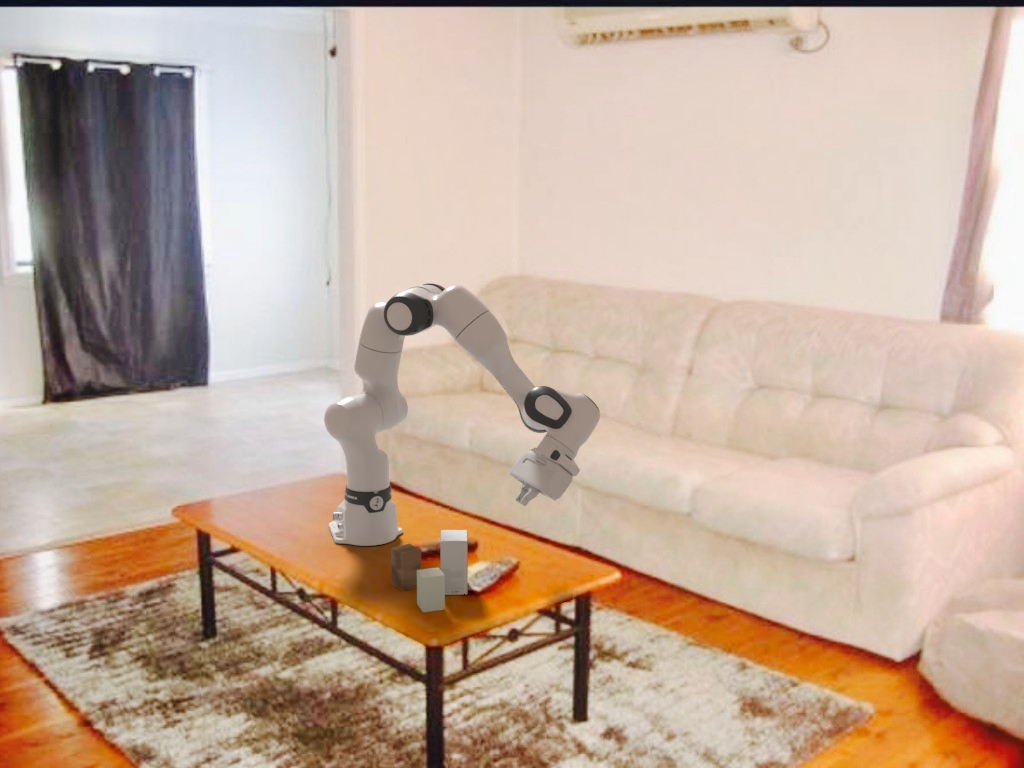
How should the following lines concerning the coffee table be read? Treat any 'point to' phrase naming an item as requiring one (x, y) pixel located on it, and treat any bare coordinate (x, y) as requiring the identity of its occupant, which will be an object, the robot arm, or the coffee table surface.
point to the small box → (454, 561)
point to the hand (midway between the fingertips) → (520, 503)
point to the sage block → (430, 589)
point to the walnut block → (405, 566)
